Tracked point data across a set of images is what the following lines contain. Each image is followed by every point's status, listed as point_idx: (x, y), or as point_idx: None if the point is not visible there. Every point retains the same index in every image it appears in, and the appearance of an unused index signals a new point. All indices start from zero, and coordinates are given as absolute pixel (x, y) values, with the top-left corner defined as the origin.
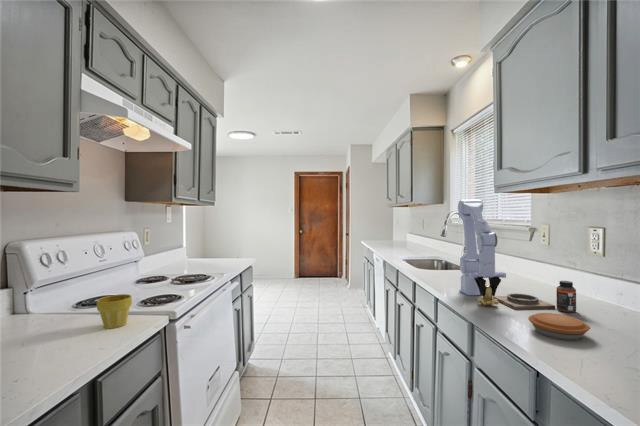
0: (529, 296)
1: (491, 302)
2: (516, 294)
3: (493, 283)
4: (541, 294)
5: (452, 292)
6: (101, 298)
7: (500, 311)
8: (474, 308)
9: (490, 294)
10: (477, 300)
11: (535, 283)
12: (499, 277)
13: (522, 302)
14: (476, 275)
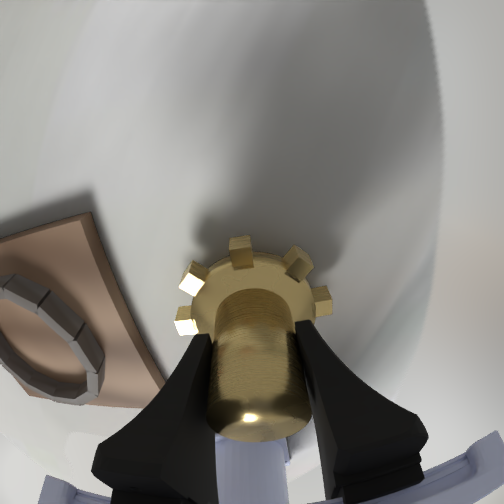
0: (12, 366)
1: (251, 249)
2: (59, 395)
3: (191, 441)
4: (13, 408)
5: None
6: None
7: (211, 145)
8: (381, 212)
9: (242, 328)
10: None
11: (45, 463)
12: (108, 497)
13: (32, 289)
14: (463, 486)
